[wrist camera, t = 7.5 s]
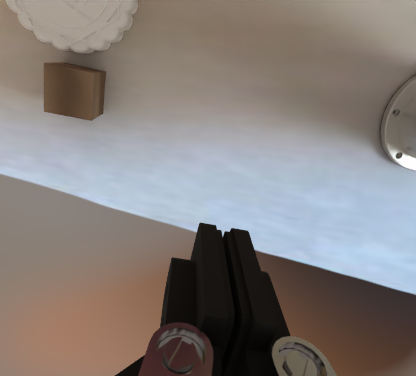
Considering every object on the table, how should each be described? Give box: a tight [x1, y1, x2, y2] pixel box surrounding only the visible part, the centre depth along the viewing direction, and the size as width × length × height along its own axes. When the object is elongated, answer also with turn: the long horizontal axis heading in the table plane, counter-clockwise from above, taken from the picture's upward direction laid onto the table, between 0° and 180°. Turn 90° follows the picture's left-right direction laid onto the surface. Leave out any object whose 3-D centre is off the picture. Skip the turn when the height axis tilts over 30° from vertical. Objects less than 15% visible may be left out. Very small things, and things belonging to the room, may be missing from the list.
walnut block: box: [44, 63, 106, 121], centre depth 31 cm, size 4×4×4 cm
